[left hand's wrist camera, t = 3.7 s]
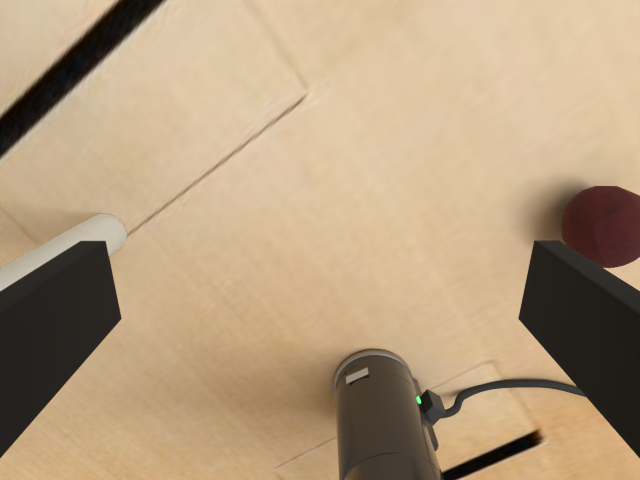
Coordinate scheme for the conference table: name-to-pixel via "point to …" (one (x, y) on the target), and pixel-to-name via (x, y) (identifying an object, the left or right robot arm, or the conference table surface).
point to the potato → (604, 225)
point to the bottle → (66, 246)
